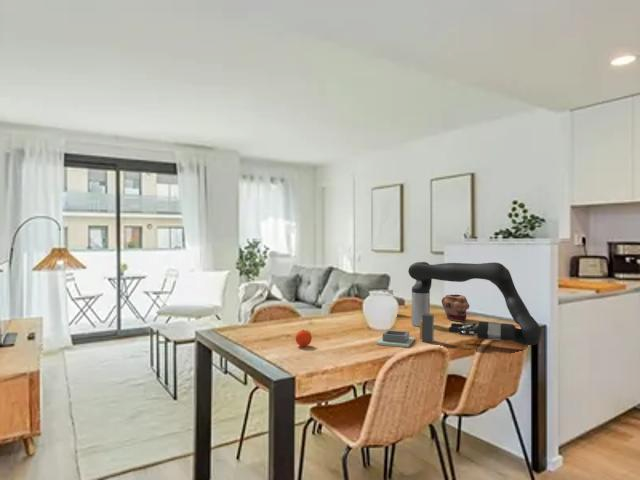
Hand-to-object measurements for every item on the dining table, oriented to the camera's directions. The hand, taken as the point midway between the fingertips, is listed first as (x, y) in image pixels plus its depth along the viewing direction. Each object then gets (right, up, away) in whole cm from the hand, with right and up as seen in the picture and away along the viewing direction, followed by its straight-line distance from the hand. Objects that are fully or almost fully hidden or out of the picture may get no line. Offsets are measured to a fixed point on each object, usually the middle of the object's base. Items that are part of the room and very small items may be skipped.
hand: (450, 327), depth 202 cm
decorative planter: (+18, -6, +55) cm, 59 cm away
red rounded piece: (-64, -7, -6) cm, 65 cm away
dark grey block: (-9, -7, +4) cm, 12 cm away
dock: (-24, -7, +2) cm, 25 cm away
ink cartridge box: (-18, -6, +72) cm, 74 cm away
